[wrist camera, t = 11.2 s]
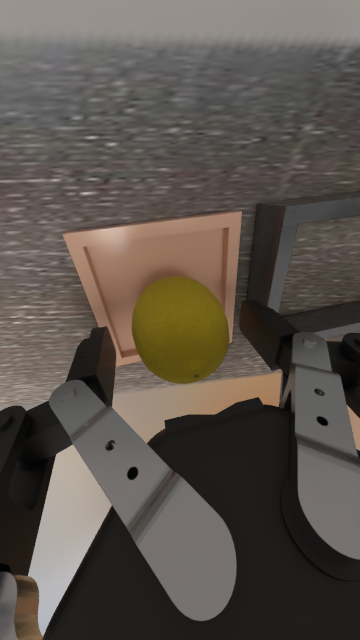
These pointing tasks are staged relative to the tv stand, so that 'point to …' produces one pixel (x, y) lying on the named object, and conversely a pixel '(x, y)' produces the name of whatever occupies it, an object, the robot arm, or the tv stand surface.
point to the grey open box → (275, 252)
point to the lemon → (180, 330)
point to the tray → (154, 265)
